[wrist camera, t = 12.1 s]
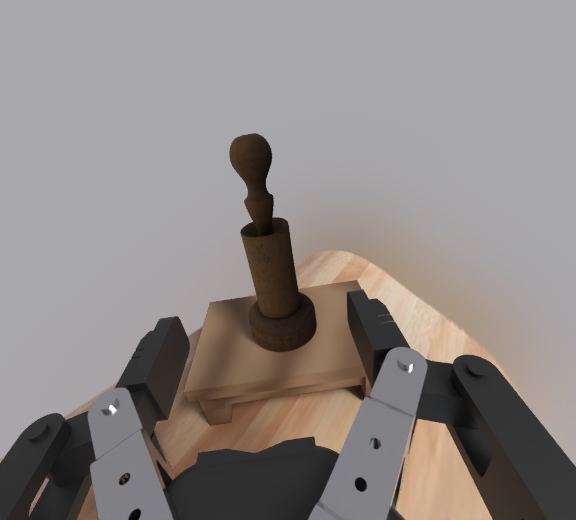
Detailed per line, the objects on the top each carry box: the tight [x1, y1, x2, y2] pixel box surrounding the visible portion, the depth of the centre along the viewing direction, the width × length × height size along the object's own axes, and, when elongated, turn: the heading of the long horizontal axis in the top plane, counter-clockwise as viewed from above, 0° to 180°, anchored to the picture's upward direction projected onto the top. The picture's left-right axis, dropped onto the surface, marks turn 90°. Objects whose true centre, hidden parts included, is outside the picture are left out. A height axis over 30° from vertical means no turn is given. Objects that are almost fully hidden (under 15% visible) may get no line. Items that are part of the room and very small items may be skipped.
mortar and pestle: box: [230, 133, 317, 352], centre depth 23 cm, size 7×6×18 cm
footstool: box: [183, 280, 372, 426], centre depth 29 cm, size 18×12×6 cm, turn 94°
